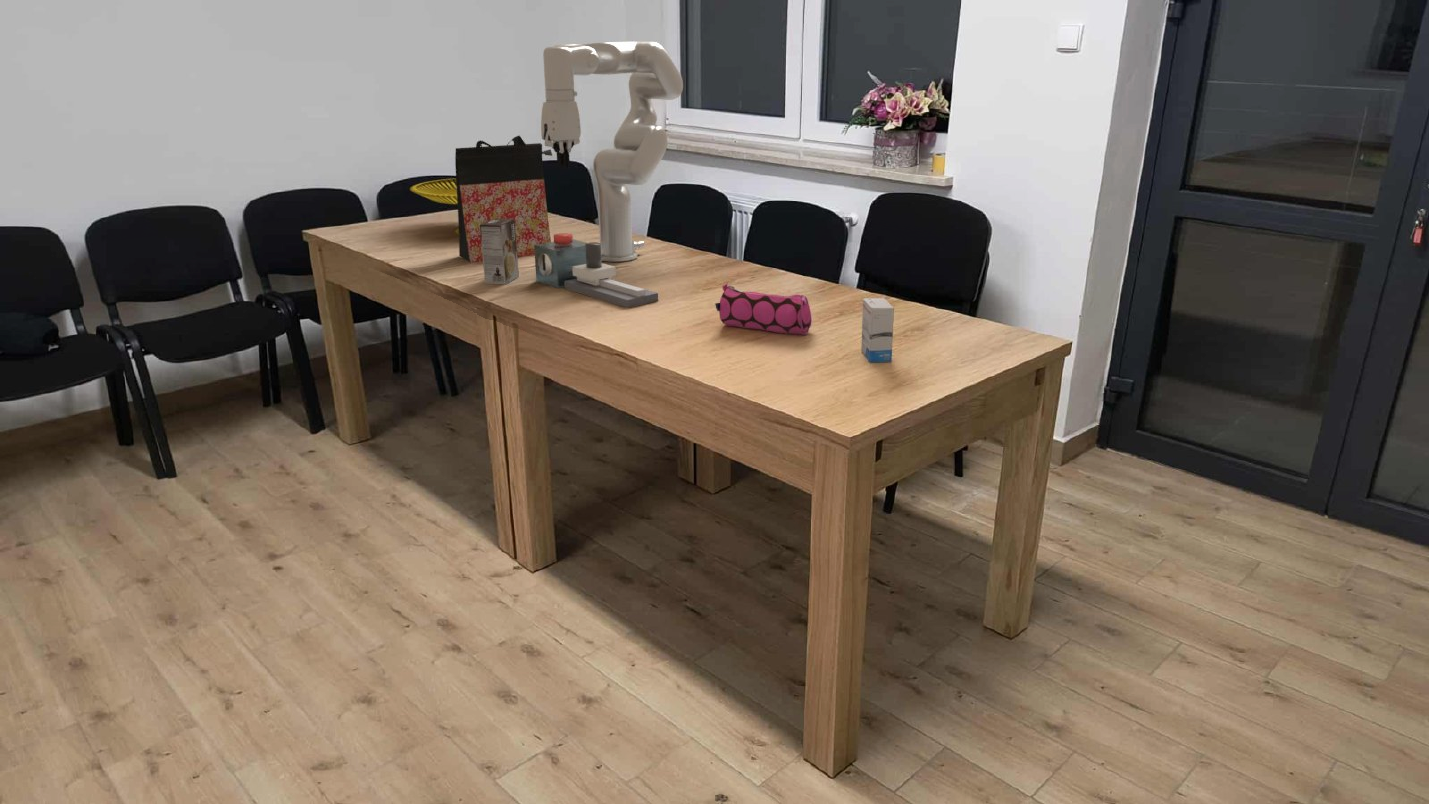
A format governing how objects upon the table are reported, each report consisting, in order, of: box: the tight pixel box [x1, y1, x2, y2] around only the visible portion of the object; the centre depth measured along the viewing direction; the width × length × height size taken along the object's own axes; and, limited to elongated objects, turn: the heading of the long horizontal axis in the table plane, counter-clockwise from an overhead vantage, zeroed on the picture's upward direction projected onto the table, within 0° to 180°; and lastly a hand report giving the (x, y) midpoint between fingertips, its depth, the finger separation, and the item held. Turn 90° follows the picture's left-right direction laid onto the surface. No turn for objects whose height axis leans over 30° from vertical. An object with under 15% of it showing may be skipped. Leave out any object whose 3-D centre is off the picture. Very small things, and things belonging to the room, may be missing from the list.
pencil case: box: [715, 282, 813, 336], centre depth 224 cm, size 21×10×10 cm, turn 69°
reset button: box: [553, 233, 573, 245], centre depth 262 cm, size 5×5×2 cm
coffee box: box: [480, 219, 520, 285], centre depth 264 cm, size 9×6×16 cm
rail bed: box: [564, 278, 659, 309], centre depth 253 cm, size 10×26×4 cm, turn 44°
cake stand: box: [410, 177, 459, 235], centre depth 326 cm, size 40×40×15 cm
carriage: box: [572, 241, 617, 286], centre depth 255 cm, size 8×8×10 cm
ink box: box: [860, 297, 895, 363], centre depth 206 cm, size 9×5×12 cm, turn 5°
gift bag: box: [454, 135, 553, 263], centre depth 290 cm, size 29×14×35 cm, turn 122°
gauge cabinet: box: [534, 239, 587, 289], centre depth 264 cm, size 13×10×10 cm
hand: (563, 167), depth 264 cm, fingers closed
